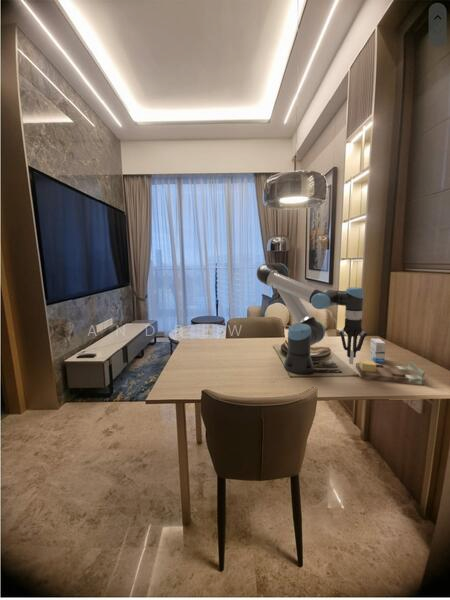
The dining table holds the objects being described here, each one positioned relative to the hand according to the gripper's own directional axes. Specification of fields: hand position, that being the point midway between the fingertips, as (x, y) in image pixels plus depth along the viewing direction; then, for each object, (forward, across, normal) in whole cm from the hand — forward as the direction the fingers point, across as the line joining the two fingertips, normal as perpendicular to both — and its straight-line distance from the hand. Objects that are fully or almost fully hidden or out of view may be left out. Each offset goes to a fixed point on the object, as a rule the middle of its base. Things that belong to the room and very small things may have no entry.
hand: (350, 363), depth 126 cm
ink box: (+5, +18, +20) cm, 28 cm away
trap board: (+5, +17, 0) cm, 17 cm away
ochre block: (+3, +8, 0) cm, 8 cm away
